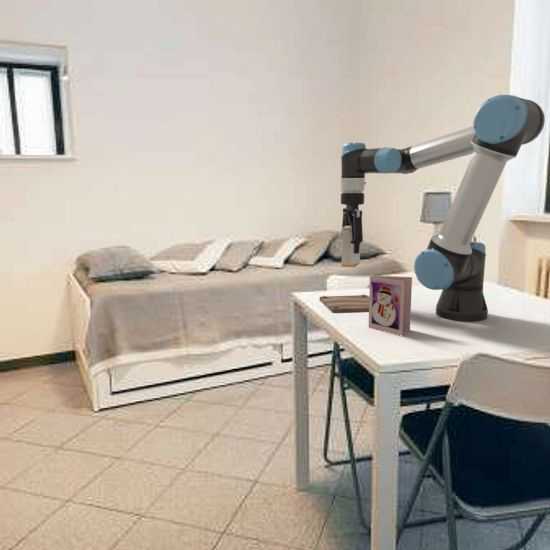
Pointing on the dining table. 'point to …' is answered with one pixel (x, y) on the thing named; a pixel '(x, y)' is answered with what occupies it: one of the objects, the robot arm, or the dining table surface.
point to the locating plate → (346, 303)
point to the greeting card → (390, 303)
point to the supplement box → (347, 247)
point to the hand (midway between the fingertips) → (351, 260)
